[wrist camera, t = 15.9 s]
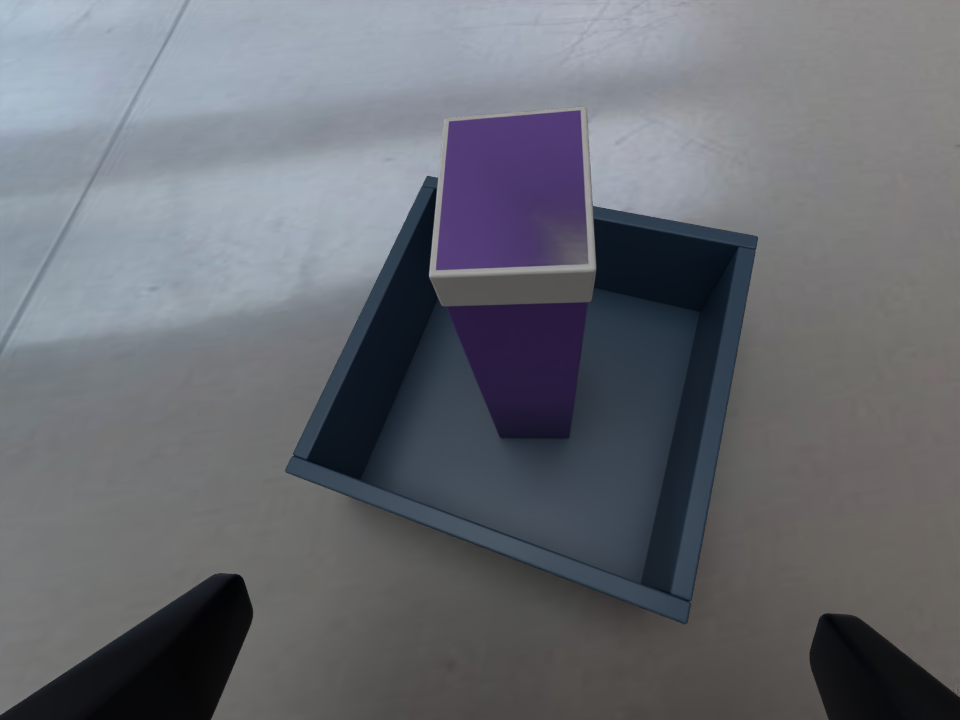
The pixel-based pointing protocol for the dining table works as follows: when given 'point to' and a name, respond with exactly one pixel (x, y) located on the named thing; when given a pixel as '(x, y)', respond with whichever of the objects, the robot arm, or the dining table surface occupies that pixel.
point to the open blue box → (595, 422)
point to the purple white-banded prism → (518, 259)
